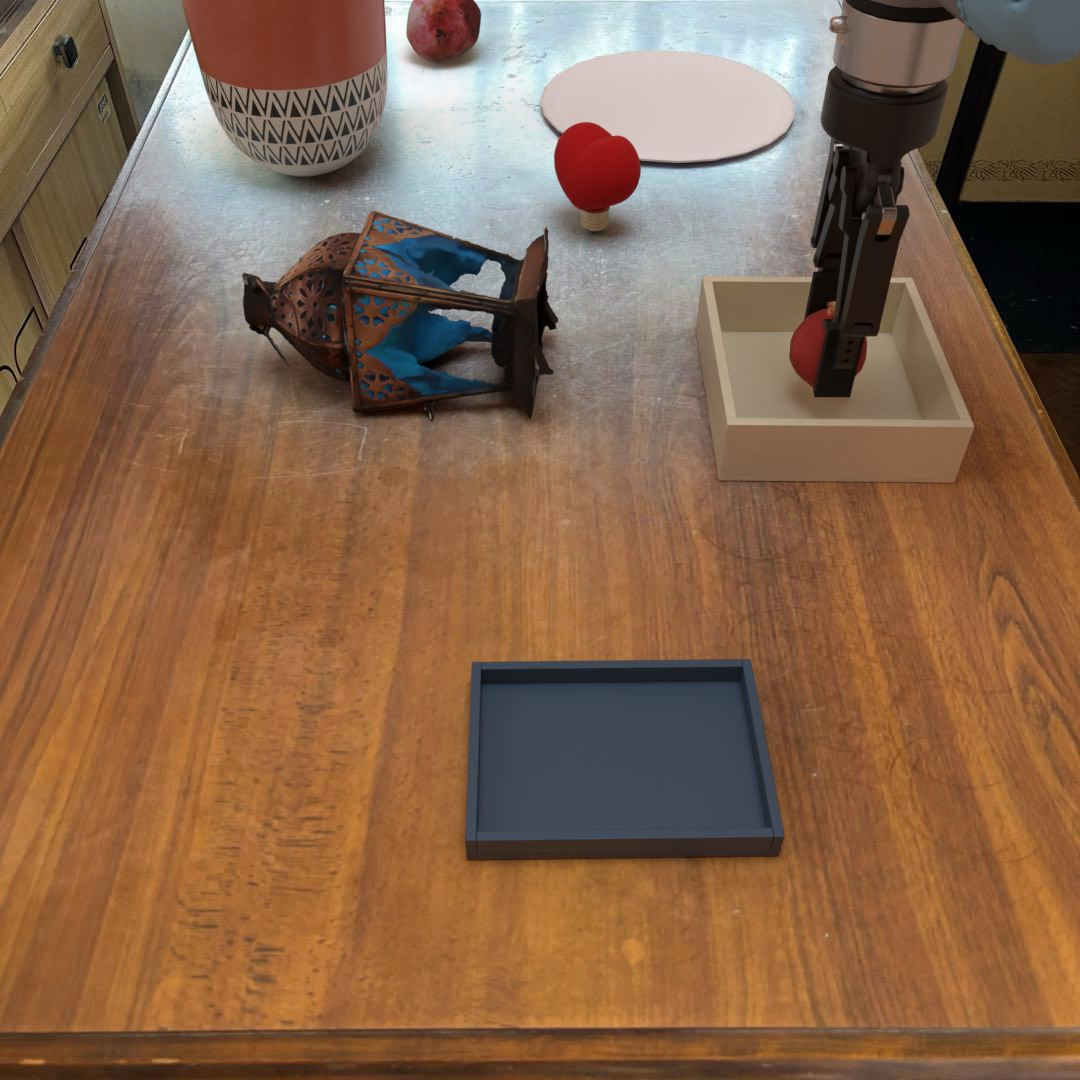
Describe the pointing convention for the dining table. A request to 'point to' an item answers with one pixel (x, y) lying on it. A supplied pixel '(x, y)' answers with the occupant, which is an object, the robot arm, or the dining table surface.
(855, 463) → the beige open rectangular box
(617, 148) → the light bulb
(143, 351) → the dining table surface
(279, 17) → the planter
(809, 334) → the onion
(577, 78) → the plate
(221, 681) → the dining table surface
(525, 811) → the tray
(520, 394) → the lantern
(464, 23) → the fruit
